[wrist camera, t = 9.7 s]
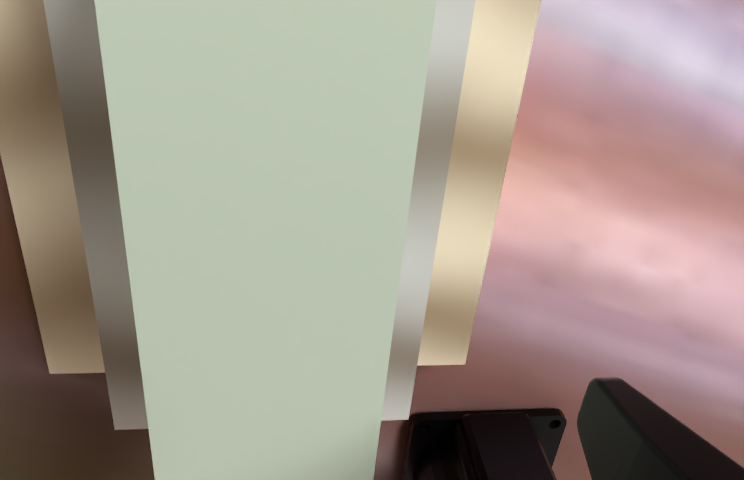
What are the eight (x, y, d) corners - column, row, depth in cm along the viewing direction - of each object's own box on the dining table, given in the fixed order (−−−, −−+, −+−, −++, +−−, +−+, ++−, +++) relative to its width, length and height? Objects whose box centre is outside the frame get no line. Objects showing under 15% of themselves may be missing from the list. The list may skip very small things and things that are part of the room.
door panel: (329, 322, 22) (359, 583, 15) (199, 324, 21) (159, 598, 14) (363, -173, 15) (458, -165, 7) (167, -193, 14) (47, -207, 7)
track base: (455, 337, 25) (483, 416, 22) (61, 343, 23) (25, 433, 20) (569, -253, 16) (650, -272, 12) (-78, -333, 14) (-191, -382, 10)
